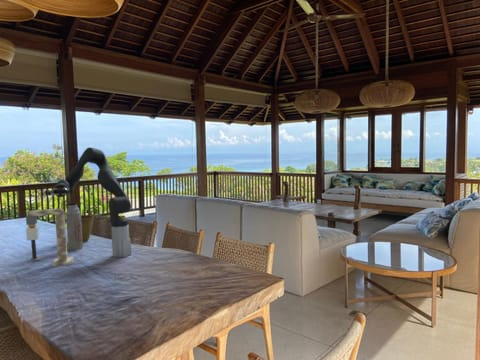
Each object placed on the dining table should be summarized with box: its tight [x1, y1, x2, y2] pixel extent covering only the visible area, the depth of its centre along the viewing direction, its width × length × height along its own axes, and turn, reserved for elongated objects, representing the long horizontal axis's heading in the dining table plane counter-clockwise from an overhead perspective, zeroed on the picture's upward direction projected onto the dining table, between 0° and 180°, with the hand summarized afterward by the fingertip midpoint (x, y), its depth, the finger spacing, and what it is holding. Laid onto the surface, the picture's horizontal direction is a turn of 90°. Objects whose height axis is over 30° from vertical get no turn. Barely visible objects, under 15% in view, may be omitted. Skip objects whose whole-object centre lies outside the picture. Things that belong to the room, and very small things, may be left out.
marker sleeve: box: [25, 225, 40, 241], centre depth 172 cm, size 5×5×6 cm
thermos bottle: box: [65, 202, 84, 251], centre depth 202 cm, size 8×8×28 cm
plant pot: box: [81, 214, 94, 243], centre depth 219 cm, size 15×15×16 cm
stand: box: [27, 207, 74, 267], centre depth 175 cm, size 18×9×29 cm, turn 112°
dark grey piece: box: [25, 215, 40, 263], centre depth 172 cm, size 4×4×24 cm
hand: (58, 193), depth 185 cm, fingers open, 8 cm apart
